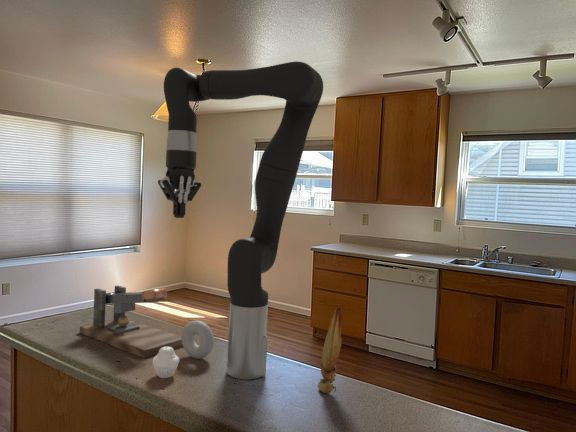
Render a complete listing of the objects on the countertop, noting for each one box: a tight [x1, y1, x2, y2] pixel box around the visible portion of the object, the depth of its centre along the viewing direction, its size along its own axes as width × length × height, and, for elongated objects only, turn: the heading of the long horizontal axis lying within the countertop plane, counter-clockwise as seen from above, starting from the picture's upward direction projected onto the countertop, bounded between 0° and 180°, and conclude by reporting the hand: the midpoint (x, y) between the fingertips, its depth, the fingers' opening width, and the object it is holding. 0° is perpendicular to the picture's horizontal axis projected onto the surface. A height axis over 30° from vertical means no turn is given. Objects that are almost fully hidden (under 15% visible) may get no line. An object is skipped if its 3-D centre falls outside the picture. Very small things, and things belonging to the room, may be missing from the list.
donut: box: [181, 320, 215, 360], centre depth 118 cm, size 10×4×10 cm, turn 61°
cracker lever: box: [105, 287, 168, 313], centre depth 130 cm, size 24×6×6 cm, turn 55°
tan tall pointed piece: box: [317, 306, 343, 394], centre depth 100 cm, size 7×5×20 cm
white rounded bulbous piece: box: [152, 346, 180, 379], centre depth 106 cm, size 6×6×7 cm
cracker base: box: [79, 285, 183, 359], centre depth 130 cm, size 30×14×13 cm, turn 55°
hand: (179, 217), depth 115 cm, fingers closed
